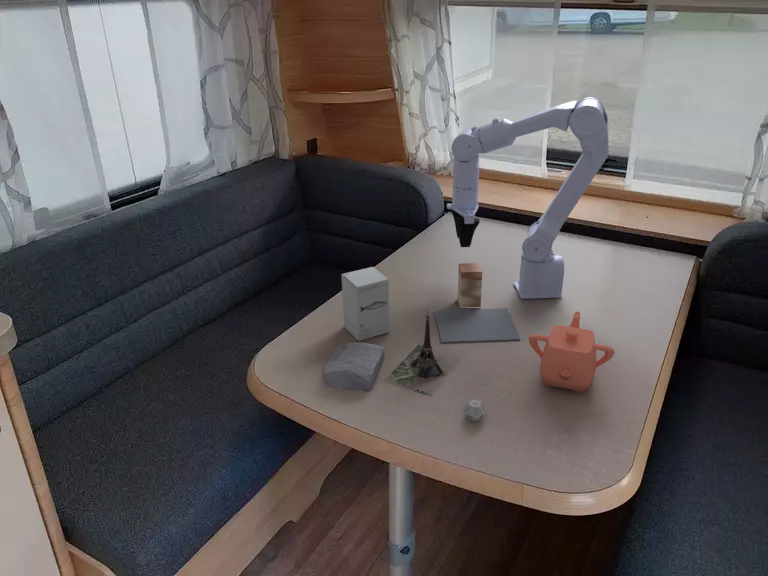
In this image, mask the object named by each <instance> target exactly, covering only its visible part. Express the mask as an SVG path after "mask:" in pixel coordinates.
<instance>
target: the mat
mask: <svg viewBox="0 0 768 576" xmlns="http://www.w3.org/2000/svg"><path fill="white" fill-rule="evenodd" d="M434 314H435V319H436V324H437V329H438V335H439V339H440V344H447V343H449V344H452V343H453V344H455V343H479V342H481V343H483V342H484V343H485V342H487V341H488V342H509V341H510V342H511V341H515V342H516V341H517V342H518V341H521V337H520V335H519V333H518V331H517V328H516V326H515V323H514V320H513V318H512V316H511V313H510V312H509V308H506V307H505V308H504V307H503V308H474V309H448V310H447V309H446V310H445V309H444V310H441V309H440V310H434Z"/></svg>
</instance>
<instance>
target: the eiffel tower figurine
mask: <svg viewBox="0 0 768 576" xmlns="http://www.w3.org/2000/svg"><path fill="white" fill-rule="evenodd" d="M430 319H431V318H430V315H429V310H428V309H427V314H426V315H425V330H424V338H423V339H424V340H423V344H421V343H418V345H417V346H415V348H413V350H412V351H410V353H409V354H408V355H407V356H406V357H405V358H404V359H403V360H402V361H401V362H400V363H399V364H398V365H397V367H395V369H393V371H392V372H391V373H390V375H391V376H392V378H393V380H394V382H396V383H397V384H398V385H403V386H410V385H411V384H412V382H414V379H415V377H416V379H417V381H421V380H422V381H423V380H427V379H431V378H436V377H437V378H438V377H442V376H446V374H445V372H444V370H443V369H442V368H441V366H440V365H439V363H438V361H437V358H436V356H435V355H434V352H433V346H432V344H431V343H432V342H431V335H430V334H431V333H430ZM413 355H417V357H416V358H415V359H414V360H413ZM413 393H418V394H421V395H424V396H428V397H432V395H433V393H429V392H425V391H423V390H421V391H420V389H419V388H418V389H415V390H414V391H413Z"/></svg>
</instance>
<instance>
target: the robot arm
mask: <svg viewBox="0 0 768 576" xmlns="http://www.w3.org/2000/svg"><path fill="white" fill-rule="evenodd" d="M551 128H555V129H558V130H561V131H562V132H568V128H569V129H570V131H571V132H572V134H573V135H574V136H575V137H576V139H577V140H578V141H579V145H580V148H581V151H582V153H581V155H580V157H579V158H578V160H577V161H576V162H575V165H574V166H573V167H572V169H571V171H570V172H569V174H568V175H567V177H566V178H565V180H564V181H563V183H562V185H561V186H560V188H558V189H559V190H557V192H556V194H555V195H554V197H553V198H552V201H551V202H550V203H549V205H548V207H547V208H546V209H545V212H543V213H542V214H541V216H540V218H539V219H538V220H537V221H535V222H534V223H532V224H531V225H530V226H529V227H528V229H527V231H526V237H525V239H524V241H523V242H522V245H521V250H522V251H521V255H520V268H519V280H518V281H514V283H513V285H514V287H515V288H516V291H517V293H518V295H519V298H520V299H522V300H529V299H532V300H533V299H556V298H557V299H558V298H559V299H560V298H563V294H562V293H563V283H564V276H565V262H564V261H565V260H564V258H563V256H562V255H561V254H555V252H554V251H553V249H552V247H553V244H554V241H555V240H556V238H557V237H558V235H559V232H560V230H561V229H562V226H563V225H564V223H565V222H566V220H567V219H568V217H569V216H570V214H571V213H572V212H573V210H574V208H575V207H576V205H577V204H578V203H579V201H580V200H581V198H582V197H583V195H584V193H585V192H586V191H587V189H588V187H589V185H590V184H591V183H592V181H593V180H594V178H595V176H597V174H598V172H599V171H600V169H601V167H602V166H603V165H604V163H605V161H606V160H607V158H608V156H609V151H610V146H609V145H610V144H609V142H610V141H609V117H608V113H607V112H606V109H605V107H604V105H603V102H601V101H600V100H599V99H597V98H595V97H592V96H591V97H584V98H582V99H580V100H579V101H577V100H572V101H568V102H564V103H561V104H558V105H555V106H552V107H550V108H547V109H544V110H542V111H539V112H537V113H534V114H531V115H528V116H525V117H523V118H520V119H518V120H515V121H511V120H509V119H507V118H501V119H500V117H494V118H493V119H492V121H491V122H490V123H487V124H486V123H485V124H484V125H482V126H481V125H480V126H479V127H478V125H477V126H476V125H474V126H472V127H471V128H470V129H465V130H462V131H461V132H460V133H459V134H458V135H457V136H456V137H455V138H454V139H453V141H452V144H451V148H450V149H451V154H452V156H453V165H452V168H453V169H452V198H451V199H452V201H451V202H452V203H446V208H447V209H448V210H449V211H450V212H451V214H452V216H453V221H454V225H455V226H454V227H455V232H456V237H457V239H458V240H459V245H460V248H470V247H471V244H472V241H473V237H474V234H475V231H476V229H477V227H478V226H479V224H480V221H481V220H480V218H477V217H475V215H476V213H477V211H478V209H479V201H478V200H479V180H480V179H479V178H480V154H485V155H486V154H487V153H491V152H494V151H496V150H500V149H503V148H506V147H509V146H512V145H514V142H515V141H516V139H517V138H518V137H522V136H525V135H530V134H533V133H536V132H540V131H543V130H548V129H551Z"/></svg>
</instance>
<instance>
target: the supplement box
mask: <svg viewBox="0 0 768 576" xmlns="http://www.w3.org/2000/svg"><path fill="white" fill-rule="evenodd" d="M340 275H341V290H342V294H341V295H342V307H343V308H342V311H343V328H345V329H346V330H347V331H348V332H349V333H350V335H352V336H353V337H354V339H356V341H358V342H360V341H364V340H367V339H370V338H374V337H377V336H381V335H384V334H389V333H390V310H389V309H390V307H389V305H390V301H389V294H390V293H389V291H390V290H389V278H388V277H386V276H385V275H384V274H383V273H382V272H380V271H379V270H377V269H376V268H375V267H374V266H370V267H367V268H361V269H358V270H357V269H356V270H354V271H349V272H345V273H342V274H340Z"/></svg>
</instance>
